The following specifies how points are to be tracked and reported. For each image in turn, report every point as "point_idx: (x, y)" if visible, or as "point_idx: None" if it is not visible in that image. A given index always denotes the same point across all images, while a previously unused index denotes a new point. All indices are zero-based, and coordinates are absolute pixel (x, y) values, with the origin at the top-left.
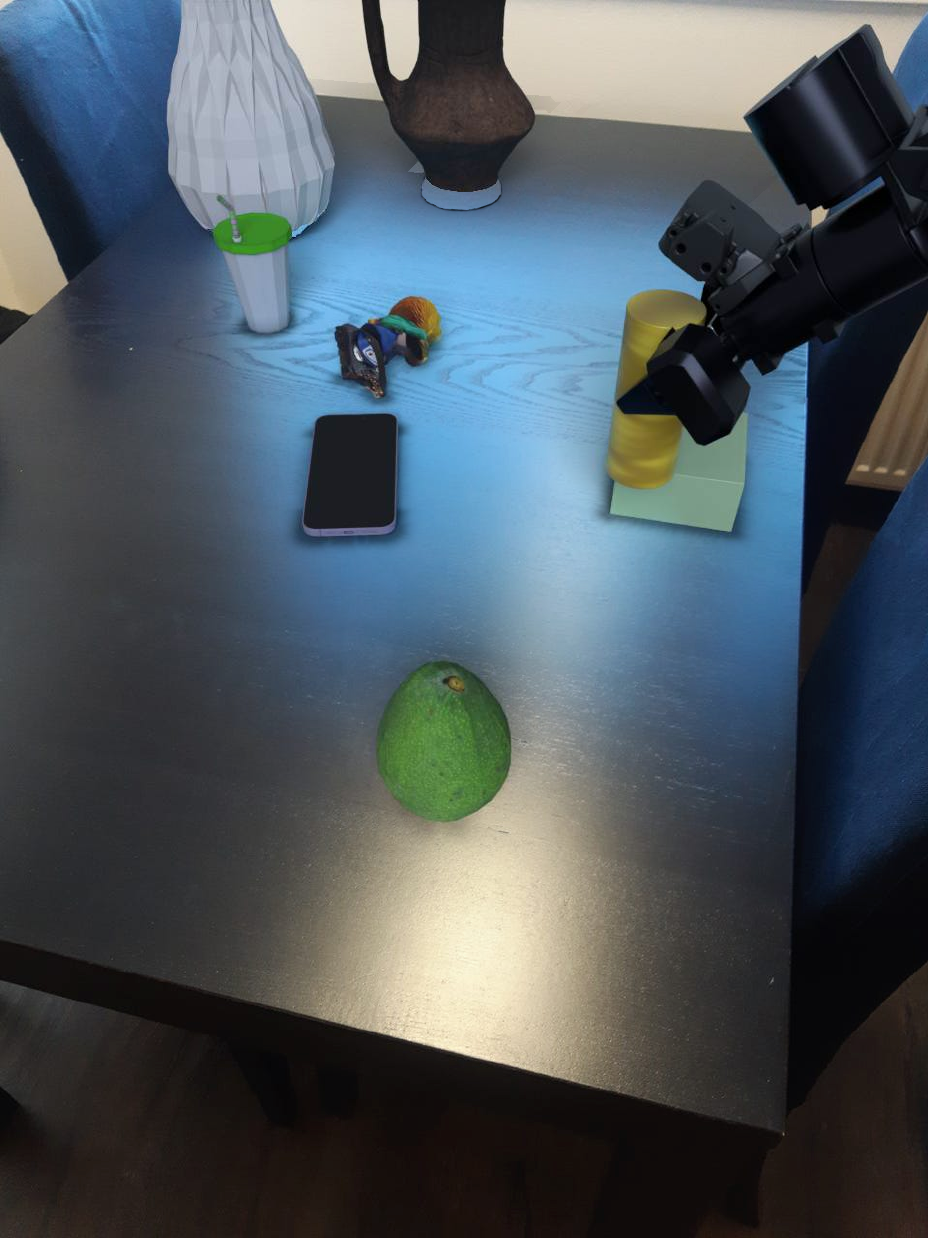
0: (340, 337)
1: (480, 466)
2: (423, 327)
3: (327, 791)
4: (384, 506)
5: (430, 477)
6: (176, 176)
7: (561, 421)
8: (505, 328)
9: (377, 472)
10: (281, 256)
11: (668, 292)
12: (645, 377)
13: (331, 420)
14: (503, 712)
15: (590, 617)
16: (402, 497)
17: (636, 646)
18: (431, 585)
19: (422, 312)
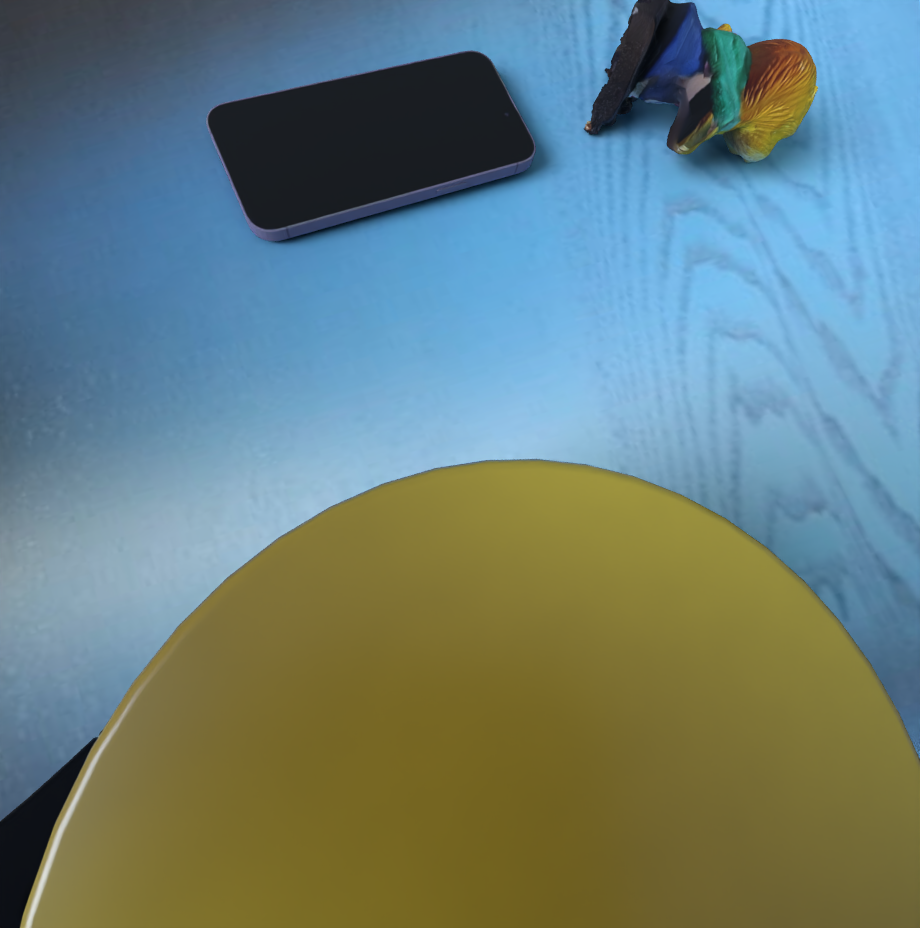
0: None
1: (484, 323)
2: (746, 108)
3: None
4: (300, 206)
5: (425, 257)
6: None
7: (657, 415)
8: (850, 258)
9: (380, 171)
10: None
11: (879, 824)
12: (53, 779)
13: (480, 71)
14: None
15: (154, 617)
16: (359, 232)
17: (98, 724)
18: (157, 337)
19: (775, 84)
